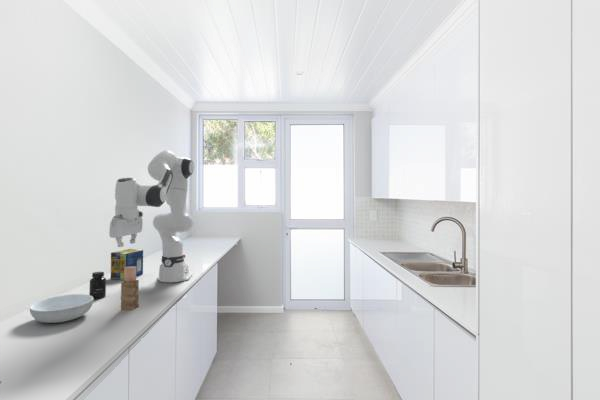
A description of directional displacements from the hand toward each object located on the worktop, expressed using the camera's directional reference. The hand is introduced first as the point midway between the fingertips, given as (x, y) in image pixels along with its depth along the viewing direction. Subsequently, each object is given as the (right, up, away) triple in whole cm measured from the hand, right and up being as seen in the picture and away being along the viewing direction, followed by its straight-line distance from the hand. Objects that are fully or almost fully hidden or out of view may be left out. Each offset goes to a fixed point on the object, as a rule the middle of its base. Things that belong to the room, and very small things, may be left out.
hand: (126, 245), depth 153 cm
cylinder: (+3, -15, -3) cm, 16 cm away
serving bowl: (-17, -28, -16) cm, 36 cm away
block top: (+3, -19, -3) cm, 20 cm away
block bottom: (+3, -27, -3) cm, 28 cm away
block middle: (+3, -23, -3) cm, 24 cm away
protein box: (-27, -26, +53) cm, 65 cm away
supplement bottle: (-20, -27, +12) cm, 36 cm away
